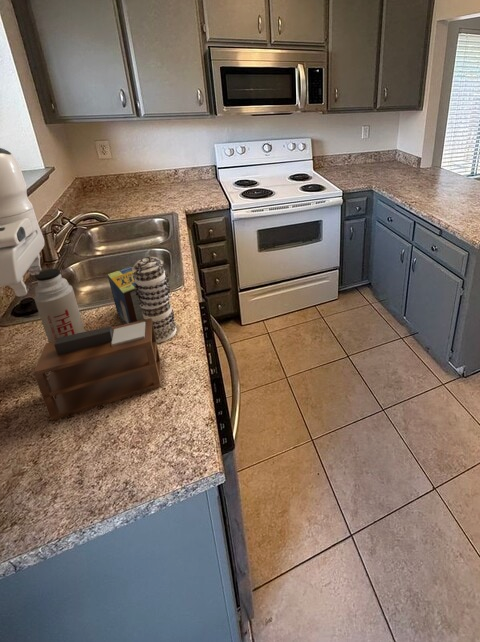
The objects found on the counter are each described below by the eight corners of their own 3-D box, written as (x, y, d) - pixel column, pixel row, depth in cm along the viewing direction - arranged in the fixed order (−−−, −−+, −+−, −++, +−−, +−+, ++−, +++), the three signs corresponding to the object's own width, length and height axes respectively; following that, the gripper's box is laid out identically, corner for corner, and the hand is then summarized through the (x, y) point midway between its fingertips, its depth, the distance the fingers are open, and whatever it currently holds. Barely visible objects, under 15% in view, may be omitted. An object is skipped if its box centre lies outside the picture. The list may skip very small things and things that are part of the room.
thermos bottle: (90, 367, 96) (63, 276, 87) (54, 377, 93) (22, 284, 84) (94, 348, 103) (69, 262, 94) (61, 357, 100) (32, 269, 91)
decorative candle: (182, 334, 108) (168, 261, 100) (149, 348, 103) (132, 272, 94) (173, 320, 115) (160, 250, 107) (142, 331, 110) (126, 259, 101)
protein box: (149, 301, 125) (141, 262, 119) (167, 321, 114) (159, 279, 109) (116, 315, 118) (106, 273, 113) (133, 337, 108) (122, 292, 102)
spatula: (55, 360, 79) (51, 349, 78) (62, 343, 85) (58, 333, 84) (144, 338, 86) (142, 327, 85) (145, 323, 91) (143, 313, 90)
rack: (51, 420, 81) (33, 372, 76) (61, 388, 90) (45, 343, 85) (160, 386, 90) (150, 341, 85) (160, 360, 98) (151, 317, 94)
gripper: (9, 211, 81) (27, 265, 86) (-32, 247, 63) (-7, 312, 68) (42, 207, 83) (58, 260, 88) (12, 240, 66) (33, 304, 71)
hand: (30, 283), depth 78 cm, fingers open, 8 cm apart
